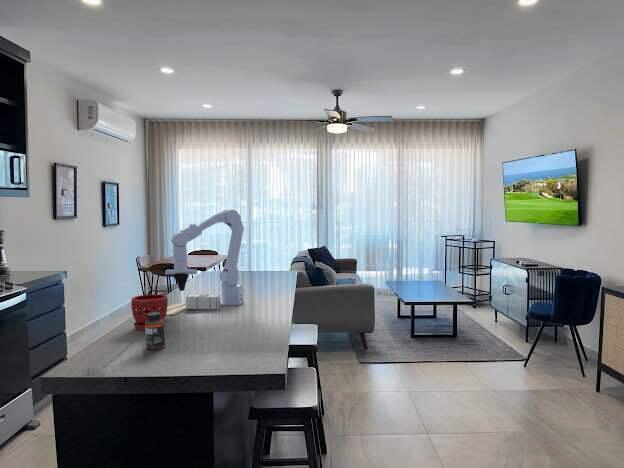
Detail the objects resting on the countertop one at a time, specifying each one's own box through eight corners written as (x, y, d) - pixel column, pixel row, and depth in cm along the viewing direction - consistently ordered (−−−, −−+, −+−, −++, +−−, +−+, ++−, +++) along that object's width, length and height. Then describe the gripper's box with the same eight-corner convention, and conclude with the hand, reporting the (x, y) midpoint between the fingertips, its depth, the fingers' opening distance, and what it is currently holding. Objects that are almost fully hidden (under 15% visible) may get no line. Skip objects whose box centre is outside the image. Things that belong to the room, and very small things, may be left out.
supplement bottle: (159, 343, 153) (157, 310, 153) (169, 346, 149) (167, 312, 149) (142, 348, 149) (140, 314, 148) (152, 351, 145) (150, 316, 144)
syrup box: (185, 309, 202) (218, 309, 203) (185, 296, 202) (218, 296, 203) (188, 306, 208) (220, 306, 209) (188, 293, 207) (220, 294, 208)
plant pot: (157, 332, 168) (155, 300, 167) (125, 331, 171) (123, 299, 170) (175, 323, 181) (173, 293, 180) (145, 322, 183) (143, 292, 183)
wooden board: (195, 305, 213) (194, 304, 213) (174, 315, 193) (173, 314, 193) (171, 305, 215) (171, 303, 215) (148, 315, 196) (148, 313, 196)
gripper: (160, 261, 199) (162, 292, 200) (191, 261, 197) (193, 292, 197) (169, 259, 206) (170, 289, 207) (198, 259, 203) (200, 289, 204)
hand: (182, 290), depth 203 cm, fingers closed
